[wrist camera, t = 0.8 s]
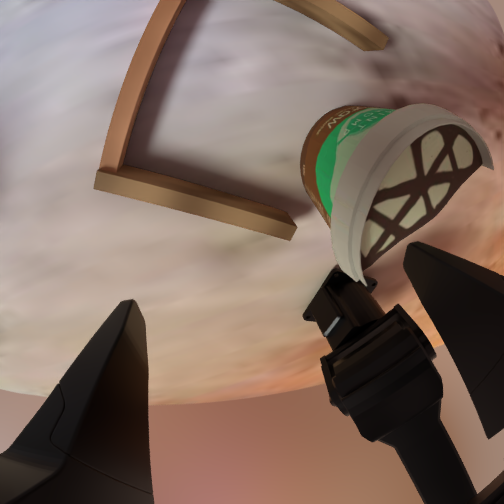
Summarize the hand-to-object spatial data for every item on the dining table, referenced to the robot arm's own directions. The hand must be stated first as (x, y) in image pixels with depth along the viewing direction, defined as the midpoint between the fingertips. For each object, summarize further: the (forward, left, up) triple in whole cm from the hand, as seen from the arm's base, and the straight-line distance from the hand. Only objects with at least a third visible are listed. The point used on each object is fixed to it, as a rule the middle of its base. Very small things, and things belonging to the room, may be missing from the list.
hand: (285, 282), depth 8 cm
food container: (-7, -5, -13) cm, 16 cm away
